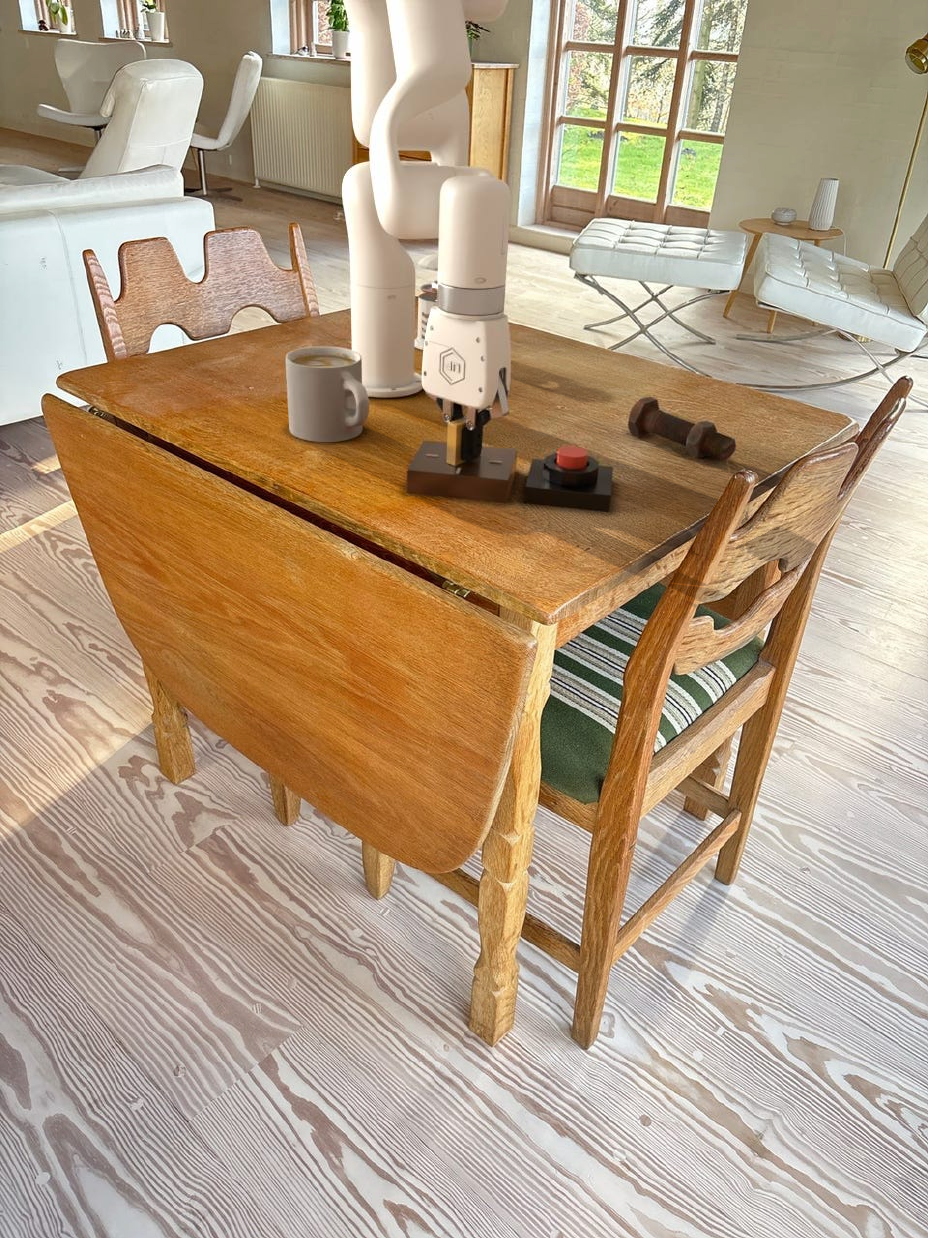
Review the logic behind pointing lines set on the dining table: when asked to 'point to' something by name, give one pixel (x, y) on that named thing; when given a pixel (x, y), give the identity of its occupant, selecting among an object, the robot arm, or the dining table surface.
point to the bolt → (679, 430)
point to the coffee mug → (325, 393)
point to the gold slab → (455, 441)
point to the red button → (572, 457)
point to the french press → (426, 299)
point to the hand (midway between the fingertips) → (463, 454)
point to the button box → (569, 485)
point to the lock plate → (462, 473)
